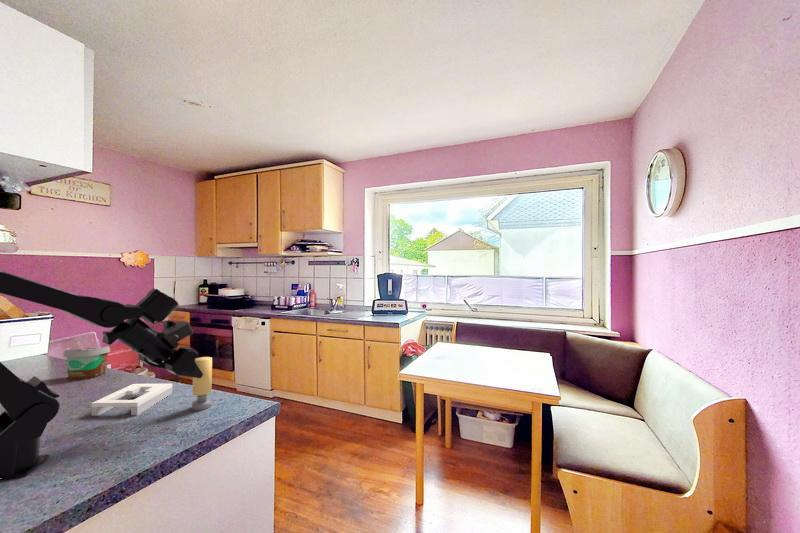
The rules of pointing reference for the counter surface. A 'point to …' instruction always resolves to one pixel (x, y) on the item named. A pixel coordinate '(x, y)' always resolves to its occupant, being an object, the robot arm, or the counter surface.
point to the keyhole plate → (137, 405)
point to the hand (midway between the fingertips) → (192, 373)
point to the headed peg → (202, 384)
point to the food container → (86, 362)
